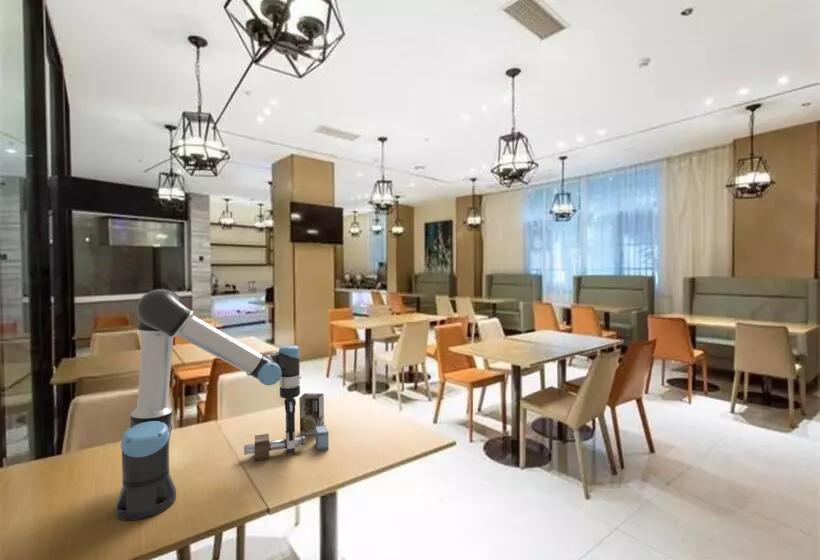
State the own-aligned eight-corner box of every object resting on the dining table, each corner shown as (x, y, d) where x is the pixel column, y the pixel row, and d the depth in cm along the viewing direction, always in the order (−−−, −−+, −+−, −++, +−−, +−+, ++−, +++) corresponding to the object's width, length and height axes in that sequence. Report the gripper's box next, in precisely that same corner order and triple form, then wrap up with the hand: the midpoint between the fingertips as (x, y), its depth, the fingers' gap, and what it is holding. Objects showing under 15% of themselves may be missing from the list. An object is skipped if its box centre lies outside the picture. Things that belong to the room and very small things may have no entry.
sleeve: (269, 459, 145) (269, 440, 145) (254, 461, 143) (254, 443, 143) (269, 451, 151) (268, 433, 151) (255, 453, 150) (255, 435, 149)
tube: (244, 461, 143) (243, 426, 142) (244, 455, 147) (244, 422, 147) (305, 451, 151) (305, 418, 150) (304, 446, 155) (304, 414, 155)
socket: (328, 449, 153) (328, 431, 153) (318, 451, 151) (318, 433, 151) (325, 442, 159) (325, 425, 159) (315, 443, 158) (315, 426, 158)
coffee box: (324, 429, 172) (324, 393, 172) (319, 435, 166) (319, 398, 165) (304, 428, 173) (304, 392, 173) (299, 434, 167) (298, 397, 166)
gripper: (302, 391, 143) (302, 453, 144) (297, 378, 160) (298, 434, 161) (280, 393, 140) (281, 456, 141) (278, 380, 157) (279, 437, 158)
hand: (290, 444), depth 151 cm, fingers closed on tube, 5 cm apart
